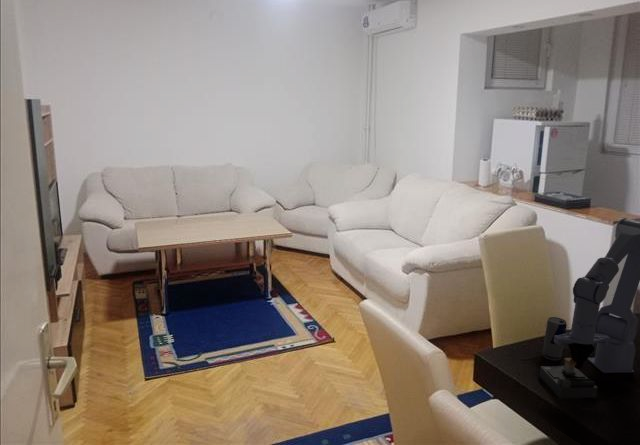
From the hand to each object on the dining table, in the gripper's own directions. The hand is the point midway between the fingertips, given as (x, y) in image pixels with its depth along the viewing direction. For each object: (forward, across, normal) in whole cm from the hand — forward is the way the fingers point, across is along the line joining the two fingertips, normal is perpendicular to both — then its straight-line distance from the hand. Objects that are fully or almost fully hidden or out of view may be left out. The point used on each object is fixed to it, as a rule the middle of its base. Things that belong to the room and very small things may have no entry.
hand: (576, 367), depth 138 cm
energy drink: (+5, -2, -15) cm, 16 cm away
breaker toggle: (+2, +2, 0) cm, 3 cm away
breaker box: (+5, +3, +1) cm, 6 cm away
